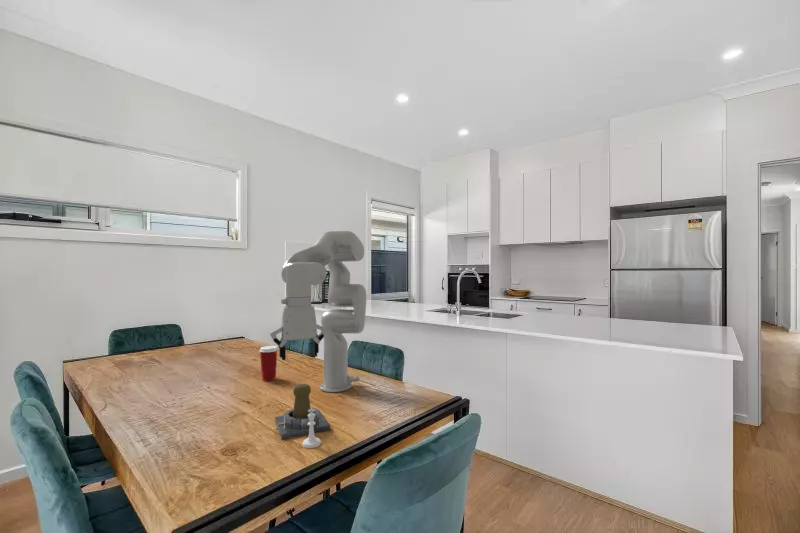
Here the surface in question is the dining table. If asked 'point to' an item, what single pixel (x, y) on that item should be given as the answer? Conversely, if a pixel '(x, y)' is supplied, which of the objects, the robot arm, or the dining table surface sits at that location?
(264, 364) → the paper cup
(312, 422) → the chess piece
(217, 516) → the dining table surface
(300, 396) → the olive game pawn
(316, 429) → the socket
